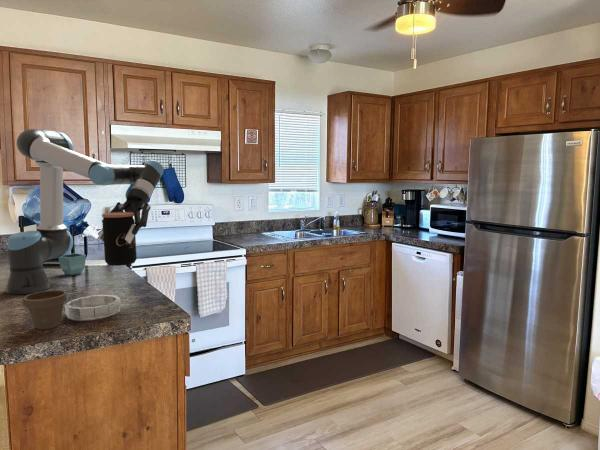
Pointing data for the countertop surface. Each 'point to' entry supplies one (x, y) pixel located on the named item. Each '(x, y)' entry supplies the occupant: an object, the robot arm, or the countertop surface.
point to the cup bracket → (92, 307)
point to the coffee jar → (118, 238)
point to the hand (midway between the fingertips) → (114, 240)
